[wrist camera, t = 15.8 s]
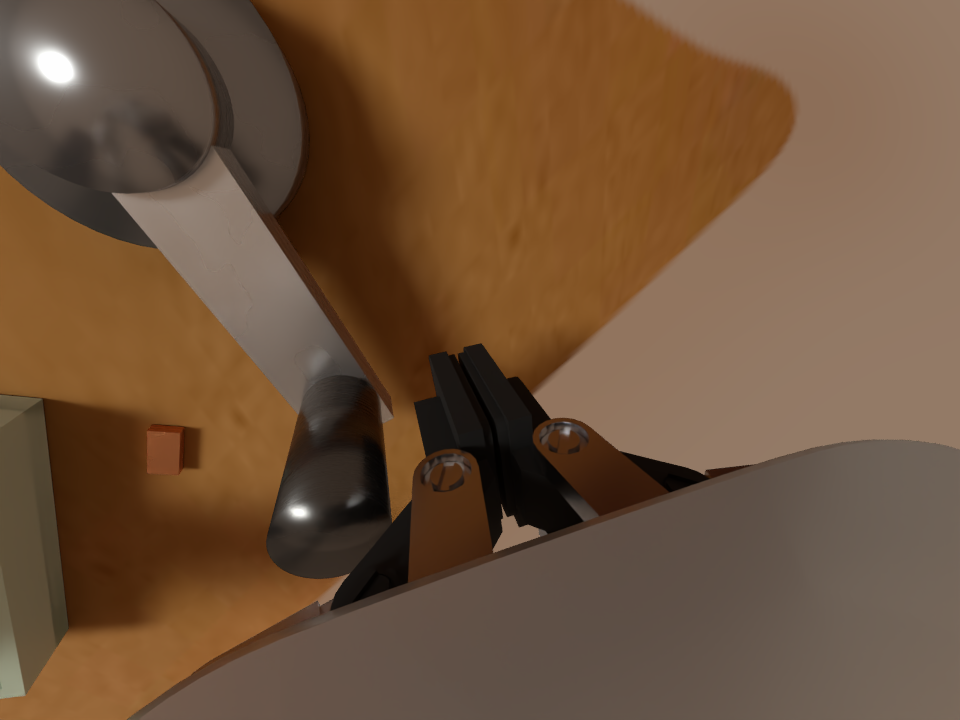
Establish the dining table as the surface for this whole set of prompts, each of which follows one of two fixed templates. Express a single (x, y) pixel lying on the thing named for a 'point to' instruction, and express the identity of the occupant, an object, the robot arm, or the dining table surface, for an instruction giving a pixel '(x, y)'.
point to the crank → (206, 241)
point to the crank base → (256, 145)
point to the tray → (27, 548)
